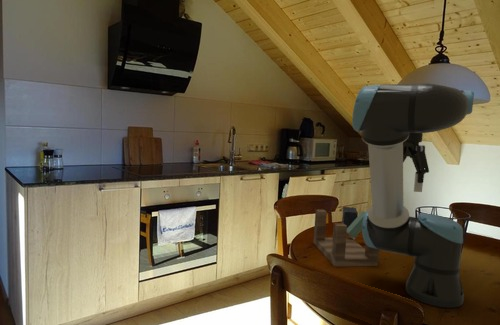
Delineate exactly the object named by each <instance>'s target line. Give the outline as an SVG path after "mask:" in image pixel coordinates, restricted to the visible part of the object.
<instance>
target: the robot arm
mask: <svg viewBox="0 0 500 325" xmlns="http://www.w3.org/2000/svg"><path fill="white" fill-rule="evenodd" d="M474 96H475V92H474V91H473V90H464V89H461V90H460V89H458V88H454V87H450V86H447V85H441V84H435V83H401V84H400V83H397V84H391V83H389V84H381V83H378V84H371V85H370V84H369V85H365V86H363V87H361V88H360V89H359V91H358V92H357V95H356V97H355V101H354V105H353V111H352V121H351V124H352V128H353V130H354V131H355V132H360V133H361V140H362V141H363V142H364V143H365V144H366V145H367V148H368V160H369V162H368V163H369V175H370V188H371V190H370V191H371V203H372V205H371V206H370V207H369V208H368V210H366V211H365V212H366V213H365V214H364V217H363V222H362V226H363V229H362V231H361V232H362V238H363V242H364V243H365V244H366V245H367V246H369V247H371V248H375V249H377V250H379V251H383V252H389V253H394V254H399V255H403V256H409V257H414V263H413V268H412V269H411V272H410V274H409V276H408V278H407V280H406V282H405V292H406V293H407V294H408V295H409V296H410V297H411V298H413V299H414V300H416V301H418V302H421V303H424V304H426V305H430V306H432V307H433V306H434V307H439V308H446V309H447V308H448V309H455V308H459V307H461V306H463V304H464V300H465V298H464V297H465V294H464V291H463V285H462V281H461V278H460V268H461V259H462V258H461V256H462V255H461V254H462V246H463V244H464V239H463V238H464V237H463V236H464V230H463V229H464V228H463V227H462V225H461V224H459V222H457V221H455V220H453V219H451V218H449V217H445V216H442V215H440V214H439V215H438V214H433V213H427V212H421V213H419V214H418V216H417V217H415V216H410V213H409V210H408V209H407V207H405V205H404V162H405V160H406V159H407V157H408V158H410V159H411V160H412V163H413V166H414V168H415V170H416V172H415V174H414V184H413V192H415V193H422V192H423V185H424V178H425V174H426V173H427V174H428V173H430V170H429V164H428V161H427V154H426V145H424V144H423V145H421V144H420V143H422V141H423V135H424V134H427V133H434V132H440V131H443V130H446V129H449V128H452V127H454V126H456V125H458V124H460V123H461V122H462V121H463V120H464V119H465V118H466V116H467V115H471V114H472V113H473V108H474V107H473V106H474V100H475V99H474V98H475V97H474Z"/></svg>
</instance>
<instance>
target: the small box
mask: <svg viewBox="0 0 500 325" xmlns="http://www.w3.org/2000/svg"><path fill="white" fill-rule="evenodd" d="M358 214H359V213H358V210H357V208H356V207H349V206H343V207H342V218H341V223H344V224H345V225H346V226H347V228H348V227H349V226H350V225H351V224H352V222H353V221H354V220H355V219H356V218H357V217H358V216H359V215H358Z"/></svg>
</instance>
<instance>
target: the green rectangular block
mask: <svg viewBox="0 0 500 325" xmlns="http://www.w3.org/2000/svg"><path fill="white" fill-rule="evenodd" d="M366 212H367V211H365V210H362V211H361V212H360V213H359V215H358V216H357V218H356V219H355V220H354V221H353V222H352V224H351V225H350V226H349V227H348V228H347V235H349V238H352V239H353V240H354V241H355V240H356V237H358V235H359V234H360V233H361V232H362V229H363V226H362V222H363V217H364V214H365V213H366Z"/></svg>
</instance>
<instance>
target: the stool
mask: <svg viewBox="0 0 500 325" xmlns="http://www.w3.org/2000/svg"><path fill="white" fill-rule="evenodd" d="M327 212H328V211H326V209H319V208H318V209H315V214H314V228H313V230H314V231H313V234H314V235H313V244H314V246H315V248H317V249H318V250H319V251H320V252H321V254H322V255H323V256H324V257H325V258H326V259H327V260H328V261H329V262H330V264H332V266H334V267H378V266H379V258H380V257H379V256H380V250H377V249H375V248H371V247H369V246H367V245H366V243H365V247H363V246H362V245H361V244H359V243H358V242H357V241H355V240H354V239H352V238H351V237H347V235H348V233H347V226H346V225H345V224H344V223H342V222H334V223H333V230H332V231H333V232H332V237H326V228H327V214H328V213H327Z"/></svg>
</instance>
